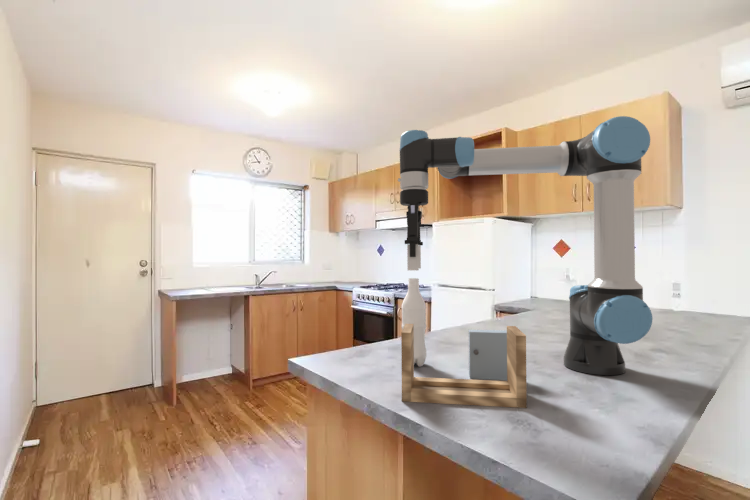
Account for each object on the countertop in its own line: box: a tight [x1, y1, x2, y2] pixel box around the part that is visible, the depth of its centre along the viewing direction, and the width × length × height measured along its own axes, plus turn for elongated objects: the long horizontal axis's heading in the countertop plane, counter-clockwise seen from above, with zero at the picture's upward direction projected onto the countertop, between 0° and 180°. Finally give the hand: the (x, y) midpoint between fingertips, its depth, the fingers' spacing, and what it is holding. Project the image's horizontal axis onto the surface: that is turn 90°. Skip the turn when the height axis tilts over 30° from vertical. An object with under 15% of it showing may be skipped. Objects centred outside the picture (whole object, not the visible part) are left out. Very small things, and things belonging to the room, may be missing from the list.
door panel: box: [468, 329, 507, 381], centre depth 102 cm, size 10×4×12 cm, turn 81°
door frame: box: [400, 324, 528, 409], centre depth 89 cm, size 26×11×15 cm, turn 81°
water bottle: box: [400, 277, 427, 368], centre depth 114 cm, size 7×7×25 cm
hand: (414, 269), depth 105 cm, fingers open, 13 cm apart
